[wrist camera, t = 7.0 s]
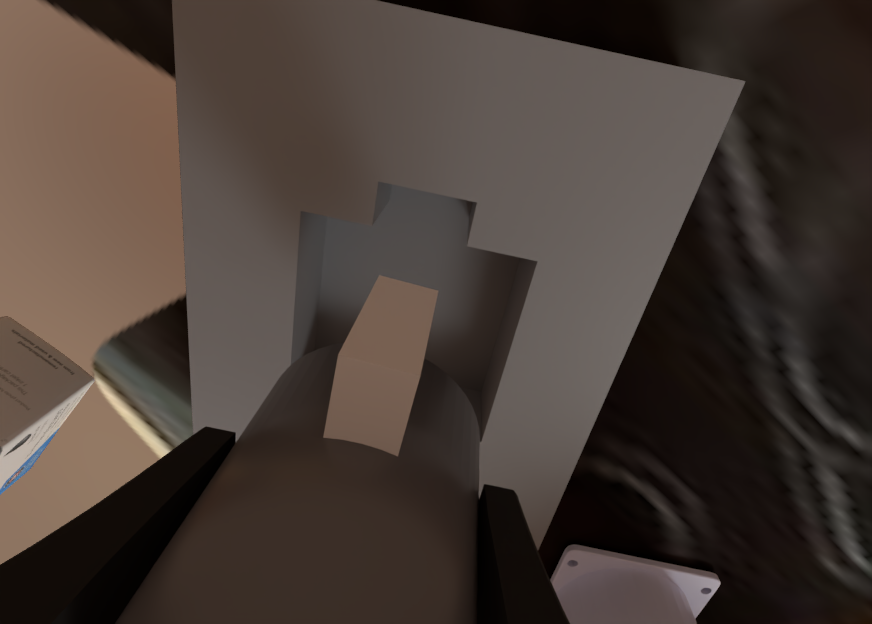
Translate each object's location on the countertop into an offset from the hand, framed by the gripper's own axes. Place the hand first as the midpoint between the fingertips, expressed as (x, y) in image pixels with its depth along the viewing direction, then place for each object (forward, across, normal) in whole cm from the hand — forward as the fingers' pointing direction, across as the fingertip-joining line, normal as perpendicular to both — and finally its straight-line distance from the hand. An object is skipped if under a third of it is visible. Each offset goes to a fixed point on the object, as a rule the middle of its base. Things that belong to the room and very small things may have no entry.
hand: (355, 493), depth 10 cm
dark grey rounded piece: (+2, 0, 0) cm, 2 cm away
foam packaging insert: (+10, 0, 0) cm, 10 cm away
